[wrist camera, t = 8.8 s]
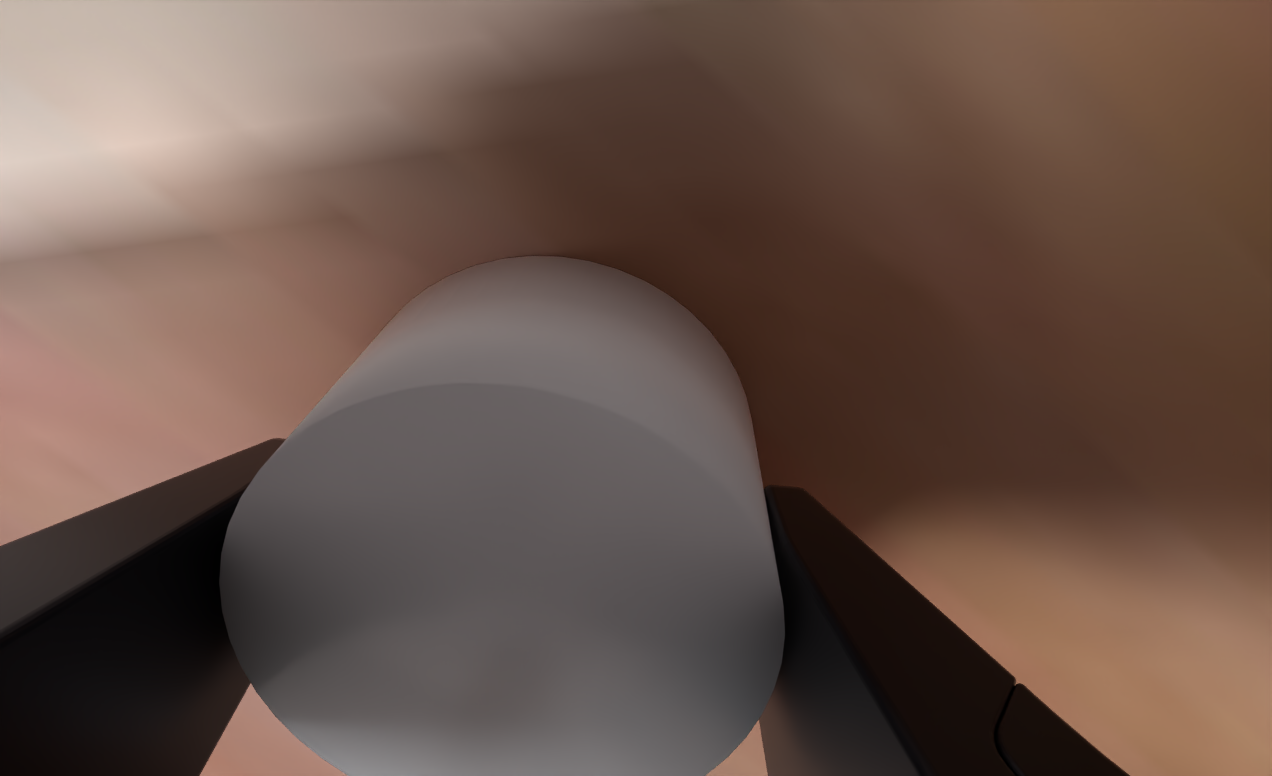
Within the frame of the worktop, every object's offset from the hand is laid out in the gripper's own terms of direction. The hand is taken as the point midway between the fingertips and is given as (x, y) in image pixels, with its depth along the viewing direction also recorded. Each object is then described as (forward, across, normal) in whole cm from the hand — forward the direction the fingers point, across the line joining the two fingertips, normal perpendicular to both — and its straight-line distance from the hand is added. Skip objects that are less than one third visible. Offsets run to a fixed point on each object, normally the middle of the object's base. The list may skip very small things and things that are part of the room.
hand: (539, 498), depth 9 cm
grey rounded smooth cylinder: (+1, 0, 0) cm, 1 cm away
